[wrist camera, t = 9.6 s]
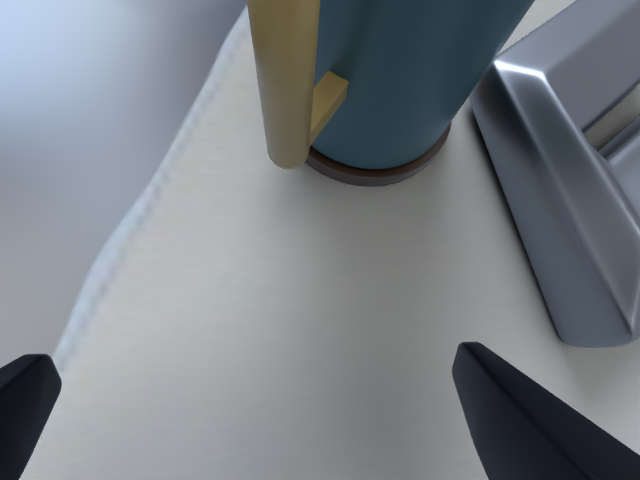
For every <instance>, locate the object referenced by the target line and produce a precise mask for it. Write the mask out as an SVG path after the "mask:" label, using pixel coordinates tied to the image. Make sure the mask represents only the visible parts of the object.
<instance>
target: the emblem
mask: <svg viewBox="0 0 640 480" xmlns="http://www.w3.org/2000/svg"><path fill="white" fill-rule="evenodd" d="M639 84H640V0H576V1H575V2H574V3H572V4H571V5H569V6H568V7H567V8H565V9H564V10H562V11H561V12H560V13H558V14H557V15H555V16H554V17H552V18H551V19H550V20H548V21H547V22H545V23H544V24H542V25H541V26H539V27H538V28H537V29H535V30H534V31H532V32H531V33H529V34H528V35H526V36H525V37H523V38H522V39H521V40H519V41H518V42H516V43H515V44H513V45H512V46H510V47H509V48H507V49H506V50H505V51H503V52H502V53H500V54H499V55H497V56H496V57H495V59H494V60H493V61H492V63H491V64H490V66H489V67H488V69H487V70H486V72H485V73H484V74H483V76H482V77H481V79H480V80H479V82H478V83H477V85H476V86H475V87H474V89H473V90H472V92H471V93H470V95H469V99H470V103H471V106H472V109H473V112H474V115H475V117H476V120H477V123H478V125H479V128H480V131H481V133H482V136H483V138H484V141H485V144H486V146H487V149H488V152H489V154H490V157H491V160H492V162H493V165H494V167H495V170H496V173H497V175H498V178H499V181H500V183H501V186H502V188H503V191H504V194H505V196H506V199H507V202H508V204H509V207H510V210H511V212H512V215H513V217H514V220H515V223H516V225H517V228H518V231H519V233H520V236H521V239H522V241H523V244H524V246H525V249H526V252H527V254H528V257H529V260H530V262H531V265H532V267H533V270H534V273H535V275H536V278H537V281H538V283H539V286H540V289H541V291H542V294H543V296H544V299H545V302H546V304H547V307H548V310H549V312H550V315H551V317H552V320H553V322H554V325H555V327H556V330H557V332H558V334H559V336H560V338H561V339H562V341H563V342H565V343H566V344H569V345H572V346H578V347H589V348H603V347H615V346H621V345H626V344H629V343H631V342H633V341H635V340H636V339H637V338H639V337H640V116H639V117H637V118H636V119H635V120H634V121H633V122H632V123H631V124H629V125H628V126H627V127H626V128H625V129H624V130H622V131H621V132H620V133H619V134H618V135H617V136H615V137H614V138H613V139H612V140H611V141H610V142H609V143H607V144H606V145H605V146H604V147H603V148H602V149H600V150H599V151H597V150H596V149H595V148H594V147H593V146H592V145H591V144H590V143H589V142H588V140H587V139H586V137H585V135H584V133H585V132H586V131H587V130H589V129H590V128H591V127H592V126H593V125H595V124H596V123H597V122H598V121H599V120H600V119H602V118H603V117H604V116H605V115H606V114H607V113H608V112H610V111H611V110H612V109H613V108H614V107H615V106H616V105H617V104H619V103H620V102H621V101H622V100H623V99H624V98H625V97H626V96H627V95H628V94H629V93H630V92H631V91H633V90H634V89H635V88H636V87H637V86H638V85H639Z"/></svg>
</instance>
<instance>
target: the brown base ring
mask: <svg viewBox="0 0 640 480" xmlns="http://www.w3.org/2000/svg"><path fill="white" fill-rule="evenodd" d="M451 122H452V121H451ZM451 122H450V124H449V125H448V127H447V128H446V129H445V131H444V132H443V134H442V135H441V137H440V138H439V139H438V141H437V142H436V144H435V145H434V146H433V147H432V148H431V149H430V150H429V151H427V152H426V153H425V154H423V155H422V156H421V157H419V158H417V159H415V160H414V161H411V162H409V163H406V164H404V165H401V166H396V167H392V168H385V169H365V168H357V167H353V166H349V165H346V164H343V163H340V162H337V161H335V160H333V159H331V158H329V157H327V156H325V155H324V154H322V153H321V152H319V151H318V150H316V149H315V148H314V147H313V146H310V148H309V154H308V157H307V159H306V161H305V162H306V163H308V164H309V165H310V166H312V167H313V168H314V169H316V170H317V171H319V172H321V173H322V174H324V175H326V176H328V177H331V178H333V179H335V180H338V181H341V182H345V183H349V184H354V185H361V186H380V185H387V184H392V183H396V182H399V181H402V180H404V179H407V178H409V177H411V176H413V175H414V174H416V173H418V172H419V171H421V170H422V169H423V168H424V167H425V166H427V165H428V164H429V163H430V162H431V160H432V159H433V158H434V157H435V155H436V154H437V153H438V151H439V150H440V149H441V147H442V145H443V144H444V142H445V140H446V138H447V136H448V133H449V131H450V126H451Z"/></svg>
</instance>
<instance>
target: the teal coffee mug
mask: <svg viewBox="0 0 640 480" xmlns="http://www.w3.org/2000/svg"><path fill="white" fill-rule="evenodd" d="M534 1H535V0H247V6H248V13H249V20H250V27H251V35H252V42H253V49H254V56H255V63H256V71H257V78H258V85H259V92H260V99H261V107H262V114H263V121H264V128H265V135H266V143H267V150H268V154H269V157H270V159H271V160H272V161H273V163H274V164H275V165H277V166H278V167H280V168H283V169H295V168H297V167H299V166H301V165H302V164H303V163H304V162H305V161H306V159H307V157H308V154H309V148H310V146H313V147H314V148H315V149H316V150H318V151H319V152H321V153H322V154H324V155H325V156H327V157H329V158H331V159H333V160H335V161H337V162H340V163H343V164H346V165H349V166H353V167H357V168H365V169H385V168H392V167H396V166H401V165H404V164H406V163H409V162H411V161H414V160H415V159H417V158H419V157H421V156H422V155H423V154H425V153H426V152H427V151H429V150H430V149H431V148H432V147H433V146H434V145H435V144H436V142H437V141H438V139H439V138H440V137H441V135H442V134H443V132H444V131H445V129H446V128H447V127H448V125H449V124H450V122H451V121H452V119H453V118H454V116H455V115H456V114H457V112H458V111H459V109H460V108H461V106H462V105H463V103H464V102H465V100H466V99H467V98H468V96H469V95H470V93H471V92H472V90H473V89H474V87H475V86H476V85H477V83H478V82H479V80H480V79H481V77H482V76H483V74H484V73H485V72H486V70H487V69H488V67H489V66H490V64H491V63H492V61H493V60H494V59H495V57H496V56H497V54H498V53H499V51H500V50H501V48H502V47H503V46H504V44H505V43H506V41H507V40H508V38H509V37H510V35H511V34H512V33H513V31H514V30H515V28H516V27H517V25H518V24H519V22H520V21H521V20H522V18H523V17H524V15H525V14H526V12H527V11H528V9H529V8H530V7H531V5H532V4H533V2H534Z"/></svg>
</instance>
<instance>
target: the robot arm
mask: <svg viewBox="0 0 640 480" xmlns="http://www.w3.org/2000/svg"><path fill="white" fill-rule="evenodd" d="M452 375H453V379H454V383H455V386H456V389H457V392H458V395H459V398H460V402H461V405H462V408H463V411H464V414H465V417H466V421H467V424H468V427H469V430H470V433H471V436H472V439H473V442H474V445H475V448H476V450H477V453H478V455H479V458H480V460H481V462H482V465H483V467H484V469H485V472H486V474H487V476H488V479H489V480H640V455H638V454H637V453H635V452H634V451H632V450H631V449H630V448H628V447H627V446H625V445H624V444H623V443H621V442H620V441H618V440H617V439H616V438H614V437H613V436H611V435H610V434H608V433H607V432H606V431H604V430H603V429H601V428H600V427H599V426H597V425H596V424H594V423H593V422H591V421H590V420H589V419H587V418H586V417H584V416H583V415H582V414H580V413H579V412H577V411H576V410H574V409H573V408H572V407H570V406H569V405H567V404H566V403H565V402H563V401H562V400H560V399H559V398H557V397H556V396H555V395H553V394H552V393H550V392H549V391H548V390H546V389H545V388H543V387H542V386H540V385H539V384H538V383H536V382H535V381H533V380H532V379H531V378H529V377H528V376H526V375H525V374H524V373H522V372H521V371H519V370H518V369H516V368H515V367H514V366H512V365H511V364H509V363H508V362H507V361H505V360H504V359H502V358H501V357H499V356H498V355H497V354H495V353H494V352H492V351H491V350H490V349H488V348H487V347H485V346H484V345H482V344H481V343H479V342H462V343H460V344H459V346H458V349H457V353H456V356H455V360H454V364H453V368H452ZM61 385H62V383H61V378H60V376H59V374H58V372H57V369H56V367H55V365H54V363H53V360H52V358H51V357H50V356H49V355H47V354H27V355H23V356H21V357H20V358H18V359H16V360H14V361H12V362H11V363H9V364H7V365H5V366H4V367H2V368H0V480H19V478H20V476H21V475H22V473H23V471H24V469H25V467H26V465H27V463H28V461H29V459H30V457H31V455H32V453H33V451H34V448H35V446H36V444H37V442H38V440H39V437H40V435H41V433H42V431H43V429H44V426H45V424H46V422H47V420H48V418H49V415H50V413H51V411H52V409H53V407H54V404H55V402H56V400H57V398H58V396H59V394H60V391H61Z"/></svg>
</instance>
